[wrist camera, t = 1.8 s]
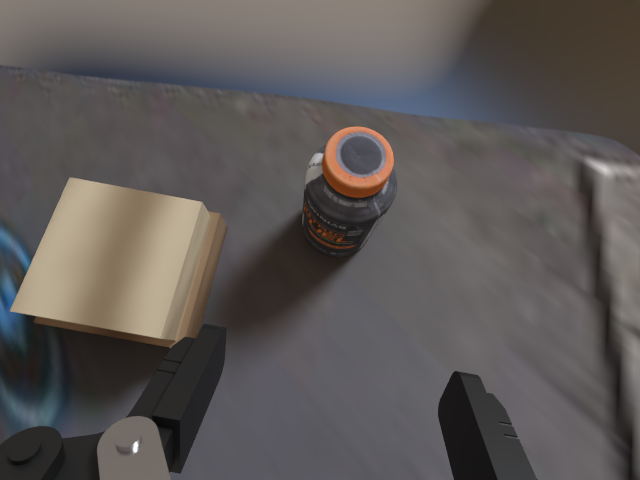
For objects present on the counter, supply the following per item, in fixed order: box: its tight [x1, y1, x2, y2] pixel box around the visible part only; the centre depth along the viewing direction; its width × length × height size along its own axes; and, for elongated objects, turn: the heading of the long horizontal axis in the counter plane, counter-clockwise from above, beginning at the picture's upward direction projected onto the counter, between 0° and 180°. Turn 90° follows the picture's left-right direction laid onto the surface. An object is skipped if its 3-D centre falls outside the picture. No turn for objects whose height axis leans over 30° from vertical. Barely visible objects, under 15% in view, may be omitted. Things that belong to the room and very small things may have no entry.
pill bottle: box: [302, 127, 397, 257], centre depth 25 cm, size 6×6×11 cm
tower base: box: [10, 178, 227, 348], centre depth 25 cm, size 10×10×6 cm
